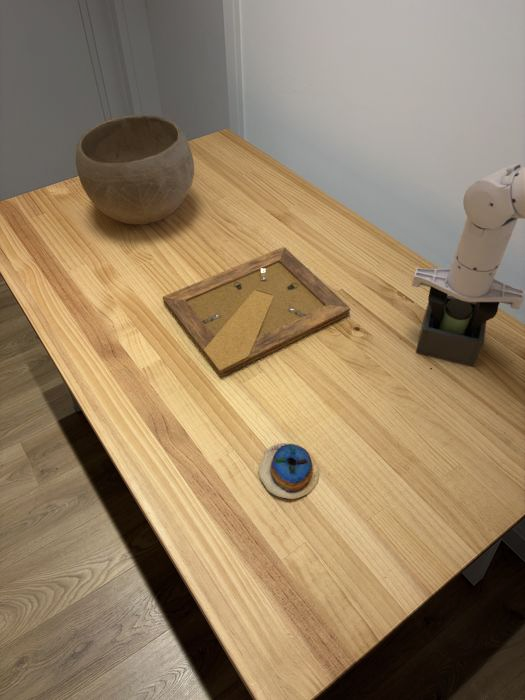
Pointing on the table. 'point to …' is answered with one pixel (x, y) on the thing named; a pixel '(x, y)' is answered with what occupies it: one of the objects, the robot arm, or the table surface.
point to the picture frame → (254, 309)
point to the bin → (450, 341)
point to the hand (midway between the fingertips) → (451, 329)
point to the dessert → (288, 471)
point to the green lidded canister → (456, 317)
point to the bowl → (135, 167)
